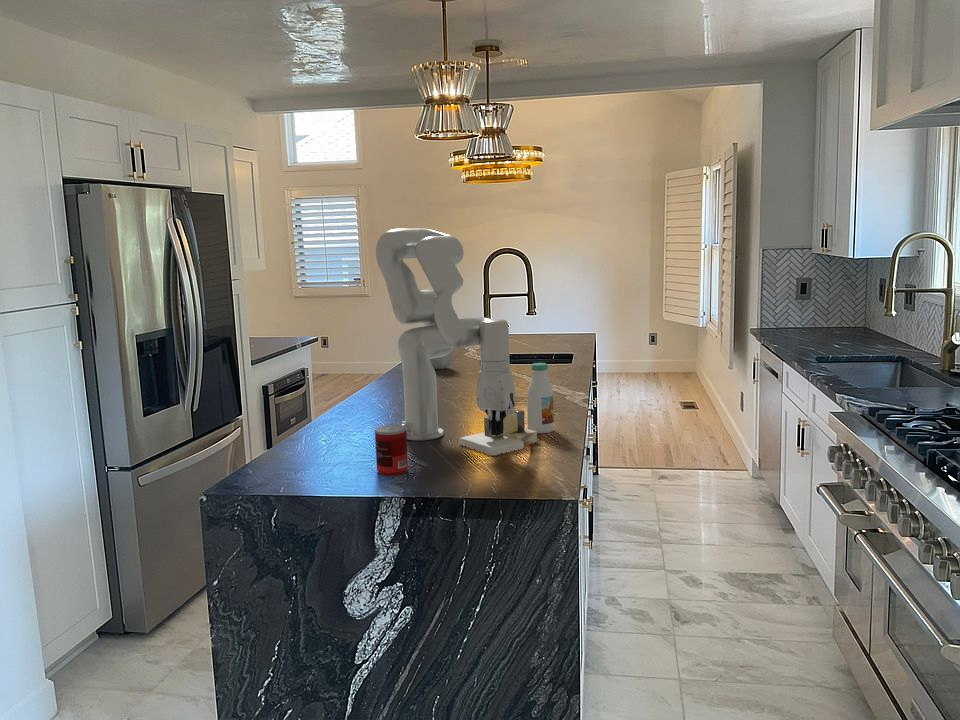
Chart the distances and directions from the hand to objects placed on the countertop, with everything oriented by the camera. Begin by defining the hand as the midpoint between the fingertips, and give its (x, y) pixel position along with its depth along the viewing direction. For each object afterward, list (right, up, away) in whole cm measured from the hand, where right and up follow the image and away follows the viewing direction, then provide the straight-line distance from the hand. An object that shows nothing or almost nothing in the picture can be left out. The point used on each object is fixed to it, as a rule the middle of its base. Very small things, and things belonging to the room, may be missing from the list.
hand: (497, 434), depth 211 cm
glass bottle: (-22, +16, +135) cm, 138 cm away
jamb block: (+6, -3, +10) cm, 12 cm away
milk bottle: (+13, -1, +22) cm, 25 cm away
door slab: (-2, -4, +6) cm, 7 cm away
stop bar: (+2, 0, +7) cm, 7 cm away
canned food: (-26, -8, -14) cm, 31 cm away
